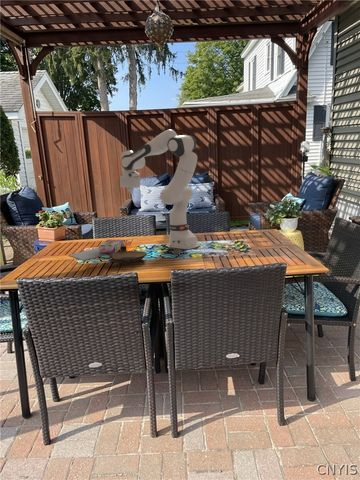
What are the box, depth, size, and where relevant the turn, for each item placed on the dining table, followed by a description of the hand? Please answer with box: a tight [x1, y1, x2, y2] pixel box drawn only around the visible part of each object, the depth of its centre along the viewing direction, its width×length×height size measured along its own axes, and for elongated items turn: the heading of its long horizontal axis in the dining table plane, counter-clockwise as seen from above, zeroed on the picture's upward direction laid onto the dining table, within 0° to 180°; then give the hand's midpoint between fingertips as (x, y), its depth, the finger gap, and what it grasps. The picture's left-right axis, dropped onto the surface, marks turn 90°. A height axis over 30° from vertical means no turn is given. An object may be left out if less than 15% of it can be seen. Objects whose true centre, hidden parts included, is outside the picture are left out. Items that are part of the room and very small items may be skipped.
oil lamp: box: [107, 243, 148, 264], centre depth 213 cm, size 22×30×8 cm
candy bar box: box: [98, 239, 125, 253], centre depth 236 cm, size 11×5×16 cm
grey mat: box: [68, 247, 118, 261], centre depth 235 cm, size 20×24×2 cm
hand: (130, 193), depth 261 cm, fingers closed
